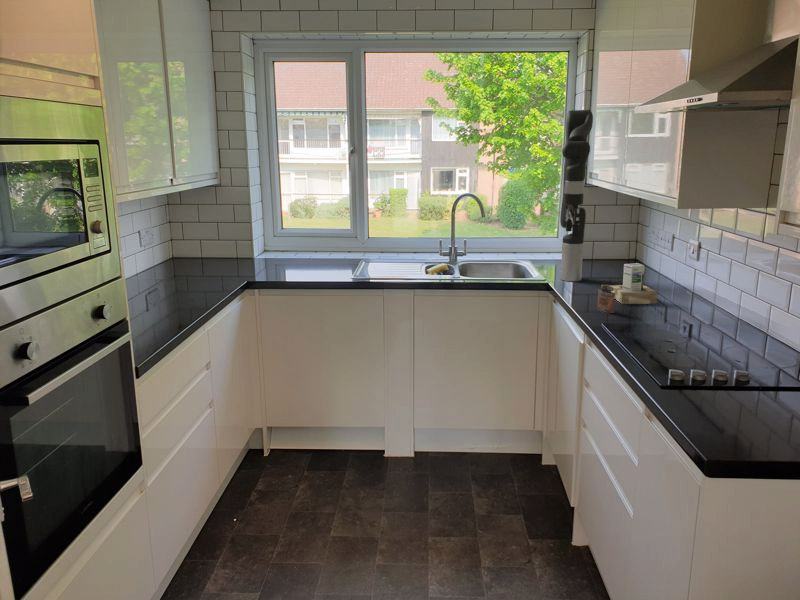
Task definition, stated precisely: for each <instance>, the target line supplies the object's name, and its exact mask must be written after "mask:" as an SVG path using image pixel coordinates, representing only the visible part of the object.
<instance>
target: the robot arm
mask: <svg viewBox="0 0 800 600" xmlns="http://www.w3.org/2000/svg"><path fill="white" fill-rule="evenodd" d="M593 122H594V115H593V112H592V111H591V110H587V109H586V110H585V109H583V110H582V109H578V110H577V109H575V110H574V109H573V110H568V112H567V114H566V118H565V123H566V124H565V142H564V144H563V146H562V150H561V151H562V152H561V154H562V157H563V158H564V165H563V190H562V201H561V208H560V209H561V210H560V227H561V228H563V229H565V232H570V233H569V234H568V233H567V234H566V235H563V236H562V237H563V238H562V247H561V248H562V249H561V250H562V251H561V266H560V280H562V281H564V282H565V281H566V282H579V281H580V282H581V281H582V274H583V272H582V271H583V257H584V256H583V255H584V237H585V228H586V227H585V226H586V217H587V213H586V209H585V208H584V207H579V206H581V205H583V204H584V194H585V193H584V192H585V185H584V184H585V183H584V180H585V178H586V170H587V169H586V167H587V166H586V165H587V161H588V159H589V155H590V153H591V145H590V143H589V142H588V136H589V134H590V133H591V131H592V128H593V124H594V123H593Z"/></svg>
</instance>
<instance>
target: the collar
mask: <svg viewBox="0 0 800 600" xmlns="http://www.w3.org/2000/svg"><path fill="white" fill-rule="evenodd" d="M609 286H611V287H613V288H614V291H611V292H613V293H615V296H614V299H616V300H617V301H619V302H620V303H621V304H620V303H619V302H618V303H619V304H620V305H643V304H644V305H647V304H648V305H652V304H653V305H654V304H658V293H659V292H658V291H656V290H654V289H653V288H650V287H649V286H647V285H644V284H643V291H625V290H624V289H623V284H613V285H612V284H609ZM616 300H615V301H616ZM617 301H616V302H617Z"/></svg>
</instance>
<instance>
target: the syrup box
mask: <svg viewBox="0 0 800 600" xmlns="http://www.w3.org/2000/svg"><path fill="white" fill-rule="evenodd" d="M644 280H645V264H642V263H639V262H638V263H637V262H636V263H624V264H623V277H622V285H623V289H624V290H625V291H643V285H644V282H645V281H644Z"/></svg>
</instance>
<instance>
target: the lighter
mask: <svg viewBox="0 0 800 600" xmlns="http://www.w3.org/2000/svg"><path fill="white" fill-rule="evenodd" d="M600 288H601V289H597V293H598V294H597V307H596V310H597V309H598V310H597V311H599V310H600V311H599V312H601V311H603V312H602V313H604V312H606V313H605V314H607V313H615V311H614V307H615V300H614V296H615V293H613V292H611V291H614V288H613V287H611V286H610V284H601V286H600Z"/></svg>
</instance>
